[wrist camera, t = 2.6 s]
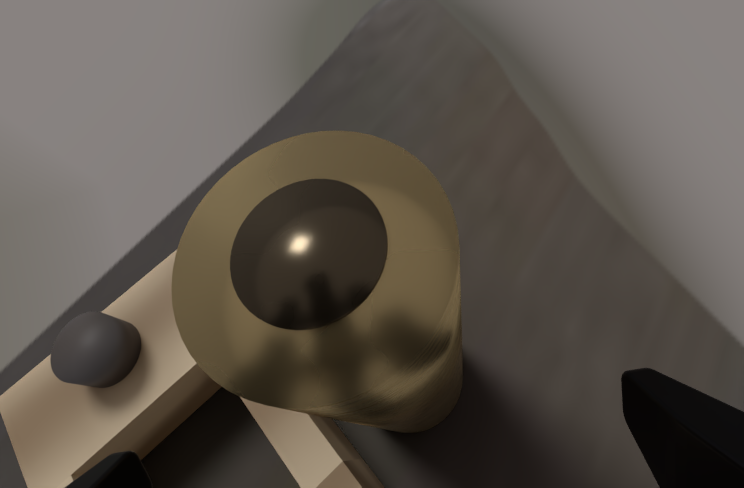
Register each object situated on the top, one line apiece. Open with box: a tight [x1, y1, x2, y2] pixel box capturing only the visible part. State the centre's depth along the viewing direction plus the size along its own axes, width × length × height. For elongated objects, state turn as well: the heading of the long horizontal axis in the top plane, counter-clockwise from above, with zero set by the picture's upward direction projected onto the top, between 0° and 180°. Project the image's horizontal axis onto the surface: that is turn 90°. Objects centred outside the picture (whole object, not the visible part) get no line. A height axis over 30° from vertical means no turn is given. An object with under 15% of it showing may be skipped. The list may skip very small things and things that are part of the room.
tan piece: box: [171, 131, 463, 433], centre depth 12 cm, size 4×4×12 cm
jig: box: [0, 250, 385, 488], centre depth 16 cm, size 12×9×4 cm
